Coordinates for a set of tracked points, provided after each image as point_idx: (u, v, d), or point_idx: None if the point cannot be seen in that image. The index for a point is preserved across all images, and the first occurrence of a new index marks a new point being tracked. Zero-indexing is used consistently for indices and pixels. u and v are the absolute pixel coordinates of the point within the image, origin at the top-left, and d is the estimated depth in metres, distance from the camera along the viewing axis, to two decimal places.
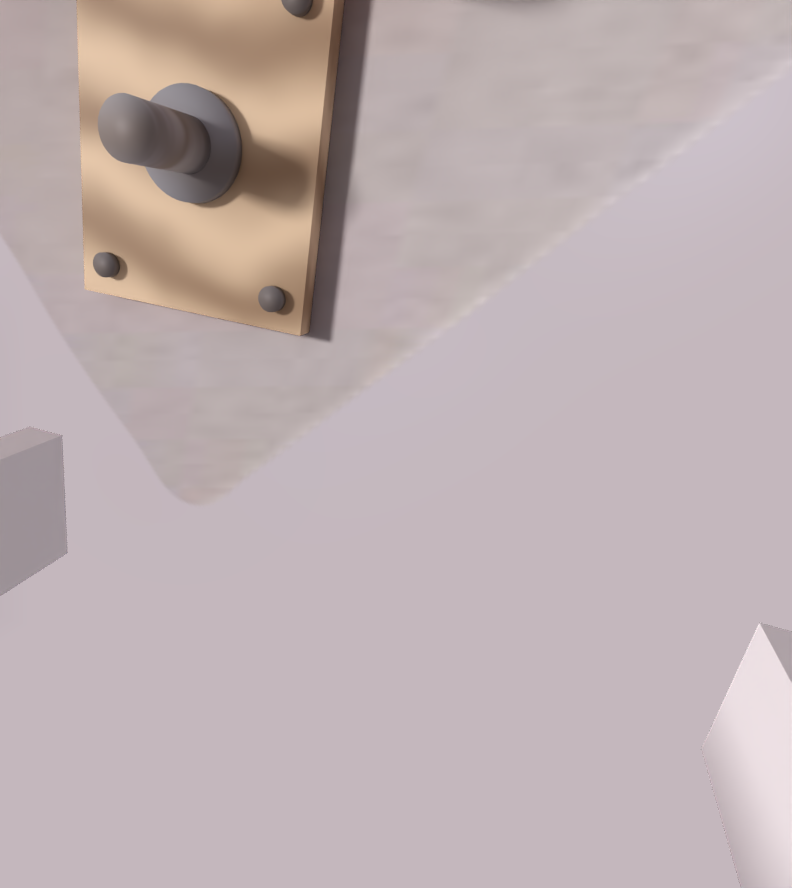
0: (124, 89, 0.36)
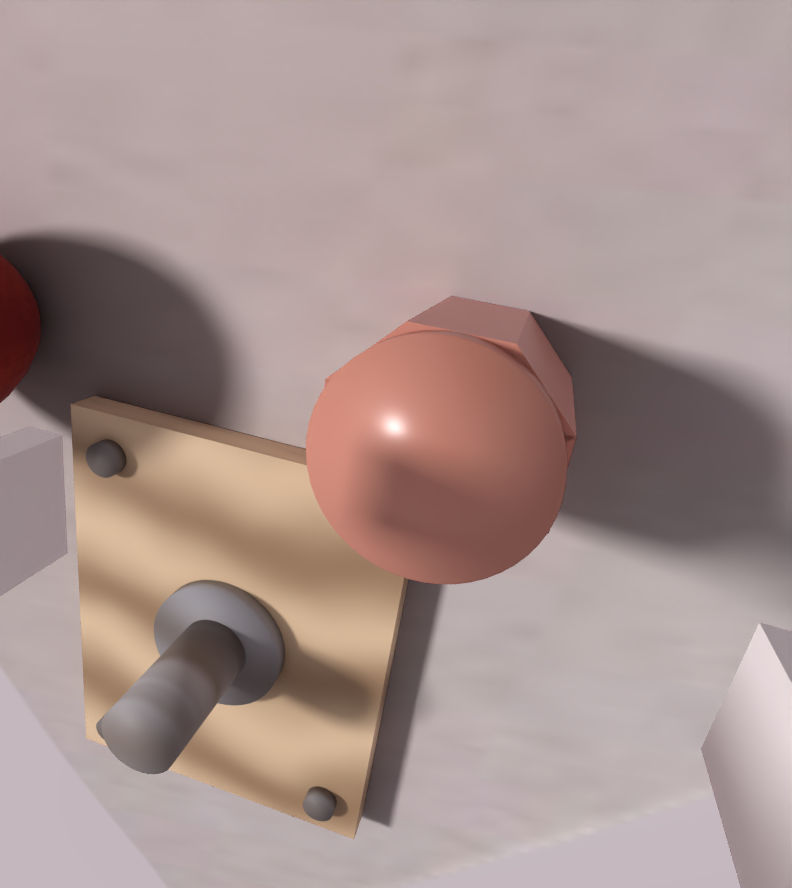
0: (135, 566, 0.28)
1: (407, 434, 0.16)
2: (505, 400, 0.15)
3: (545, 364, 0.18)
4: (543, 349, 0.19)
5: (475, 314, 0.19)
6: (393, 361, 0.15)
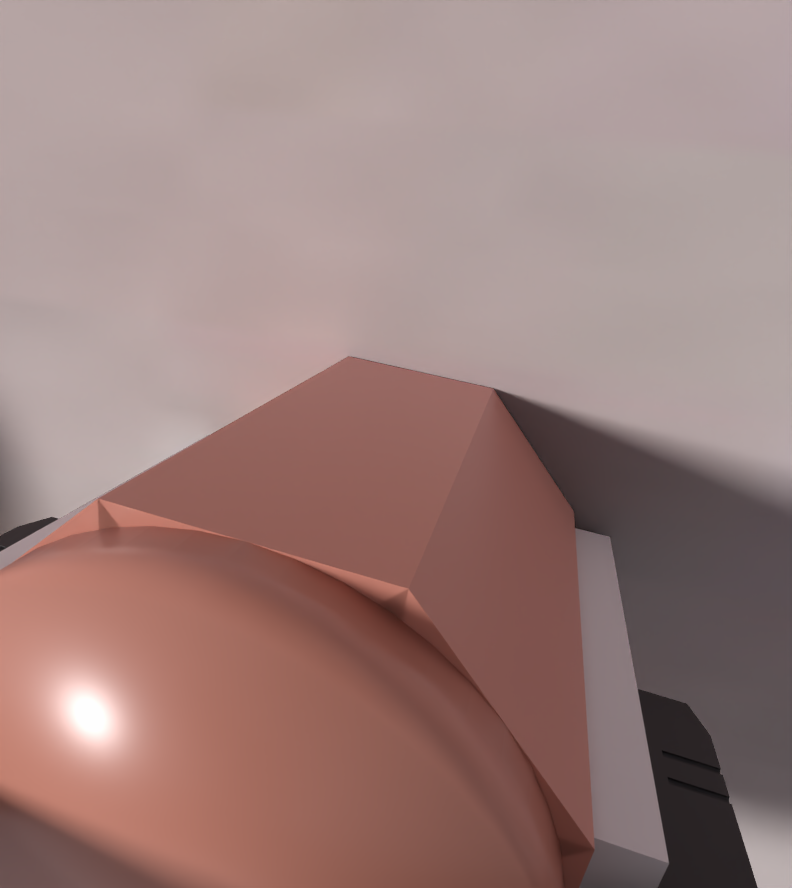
0: None
1: (94, 835, 0.05)
2: (360, 805, 0.04)
3: (514, 554, 0.07)
4: (514, 492, 0.09)
5: (361, 420, 0.08)
6: (15, 648, 0.05)
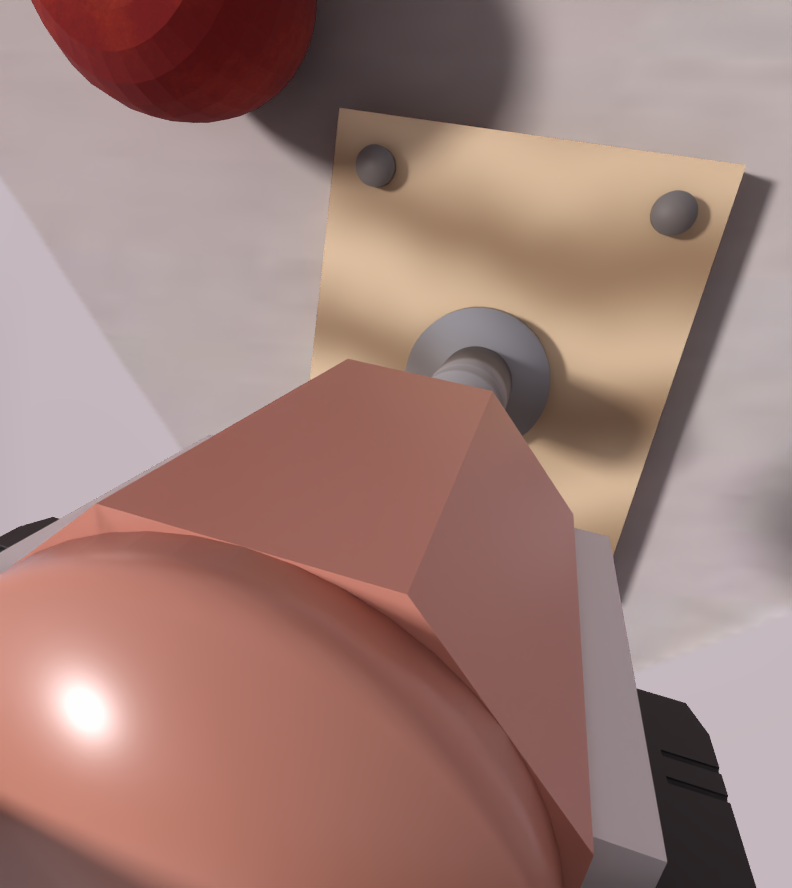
0: (385, 302, 0.27)
1: (92, 841, 0.05)
2: (358, 813, 0.04)
3: (513, 558, 0.07)
4: (513, 495, 0.09)
5: (360, 423, 0.08)
6: (12, 654, 0.05)
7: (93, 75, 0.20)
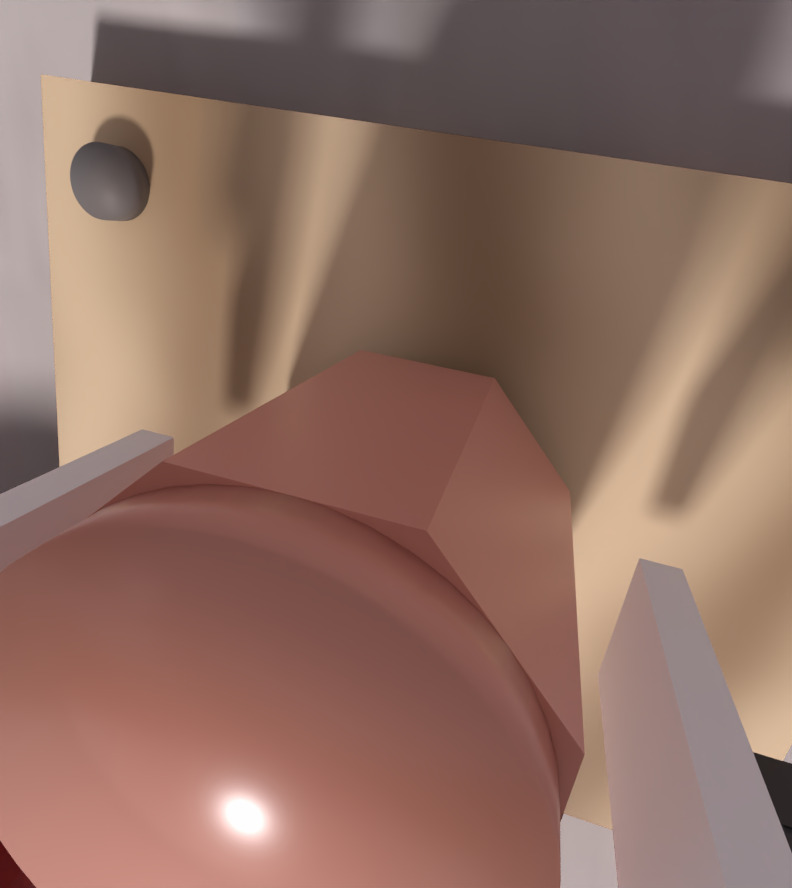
0: None
1: (161, 746, 0.06)
2: (390, 702, 0.05)
3: (514, 518, 0.08)
4: (514, 468, 0.10)
5: (377, 403, 0.09)
6: (100, 582, 0.06)
7: None
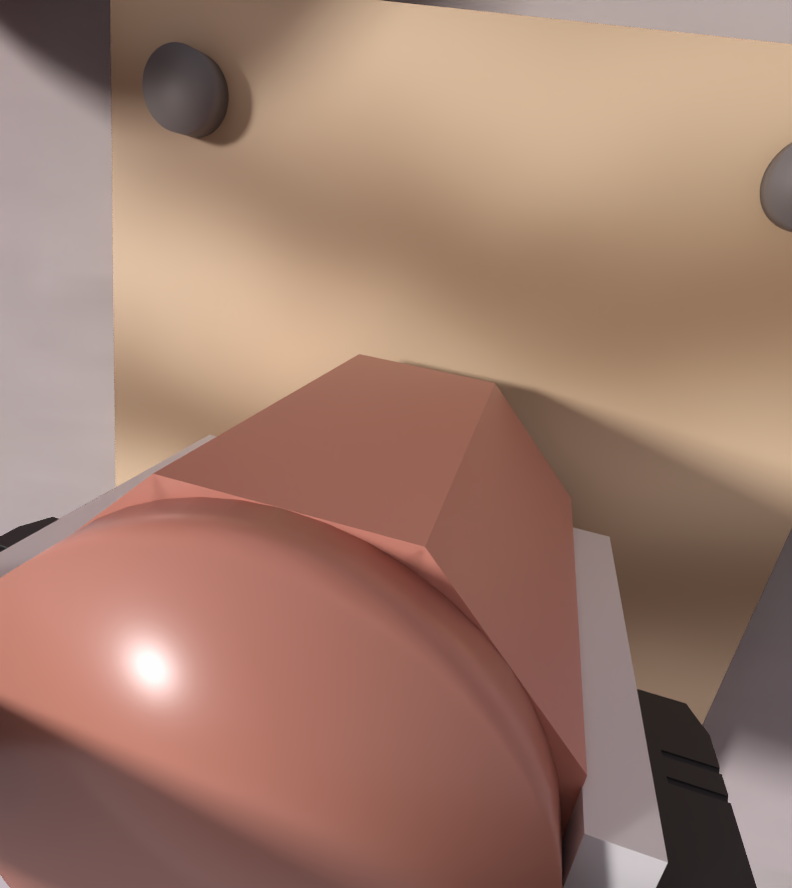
0: (230, 360, 0.14)
1: (290, 821, 0.06)
2: None
3: None
4: None
5: None
6: (489, 839, 0.05)
7: None
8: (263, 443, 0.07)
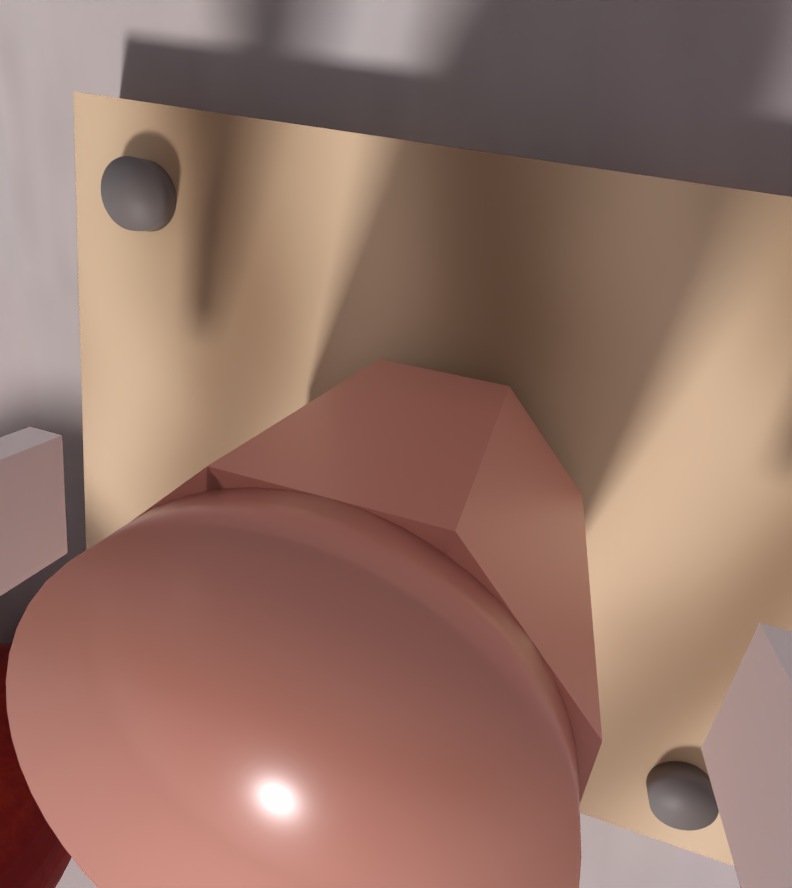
0: None
1: (332, 780, 0.06)
2: None
3: None
4: None
5: None
6: (515, 793, 0.06)
7: None
8: (301, 440, 0.08)
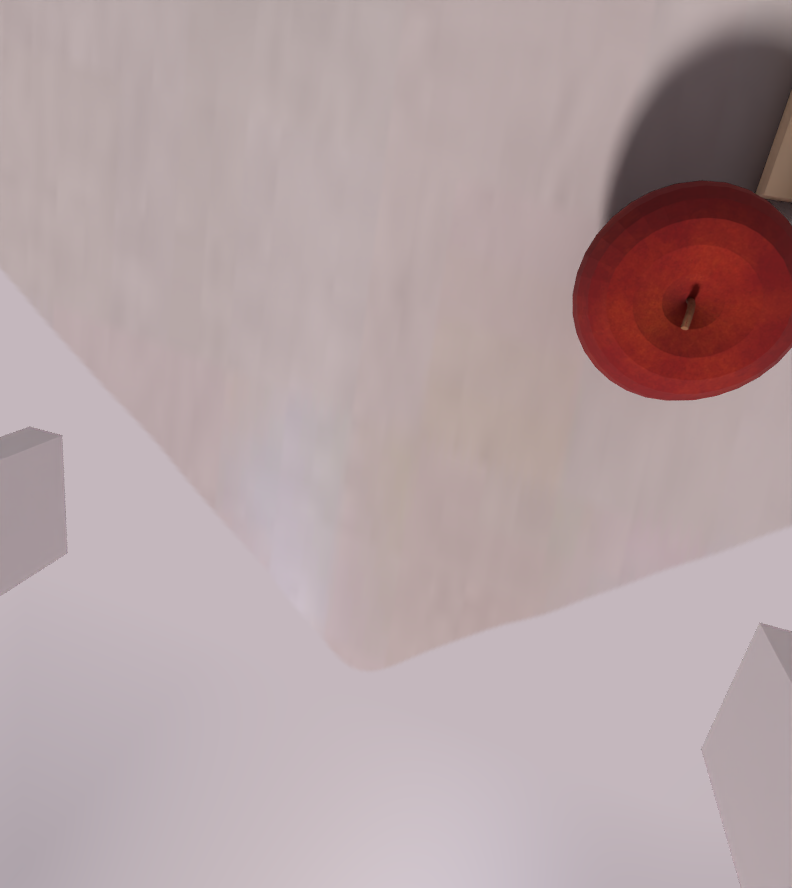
0: None
1: None
2: None
3: None
4: None
5: None
6: None
7: (789, 346, 0.24)
8: None
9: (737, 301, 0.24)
